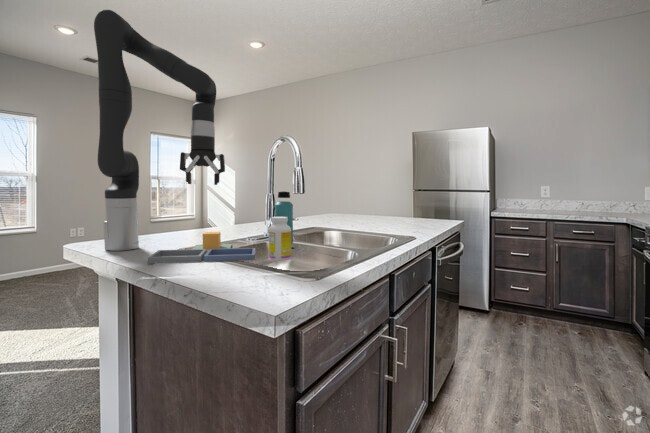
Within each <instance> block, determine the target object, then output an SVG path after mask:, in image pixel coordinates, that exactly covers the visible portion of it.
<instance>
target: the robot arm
mask: <svg viewBox="0 0 650 433" xmlns="http://www.w3.org/2000/svg"><path fill="white" fill-rule="evenodd" d="M93 30H94V31H93V32H94V37H95V46H96V51H97V52H96V53H97V66H98V67H97V68H98V69H97V73H98V106H99V136H98V137H99V139H98V149H97V166H98V169H99V171H100V173H101V174H103V175H104V176H105V177H108V178H111V183H110V185H109V186H108V187H107V188H105V190H104V202H105V204H104V205H105V220H104V221H103V237H104V238H103V239H104V250H105V251H112V252H113V251H116V252H117V251H118V252H119V251H121V252H122V251H130V250H134V249H135V250H136V249H138V248H139V244H140V243H139V224H138V223H139V222H138V221H139V220H138V202H137V201H138V200H137V198H138V197H137V193H138V191H139V188H140V187H139V185H140V167H139V161H138V158H137V156H136V155H135V154H134V153H133V152H131V151H128V150H125V149H124V132H125V129H126V126H127V124H128V122H129V120H130V117H131V115H132V111H133V97H132V95H133V92H132V87H131V83H130V79H129V76H128V73H127V69H126V67H125V63H124V58H123V51H124V52H126V53H128V54H131V55H133V56H135V57H137V58H139V59H141V60H142V61H145V62H146V63H148V65H150V66H152V67H153V68H155V70H157V71H159V72H160V73H162V74H164V75H165V76H167V77H169V78H170V79H172V80H173V81H175V82H178V83H179V84H182V85H184V86H185V87H187V88H188V89H190V90H191V91H192V92H194V93H195V100H194V103H193V104H192V106H191V125H190V152H188V153H187V152H183V151H181V152H180V159H179V170H180V171H182V172H185V181H186V182H185V183H187V184H188V185H192V171H193V170H194V168H195V167H210V168H211V169H212V170H213V172H214V175H213V176H214V177H213V178H214V182H213V184H214V185H215V186H217V185H218V184H219V183H220V174H222V173H224V172H226V165H225V164H226V162H225V155H224V154H223V153H221V154H216V152H215V150H216V149H215V148H216V147H215V142H216V141H215V134H216V132H215V131H216V130H215V105H216V100H217V86H216V83H215V81H214V79H212V78H211V76H210V75H209V74H208V73H206V72H204V71H203V70H202V69H200V68H198V67H196V66H193V65H191V64H189V63H188V62H186V61H185V60H183V59H182V58H180V57H179V56H177V55H175V54H174V53H172V52H170V51H169V50H167V49H165V48H162V47H160V46H158V45H155V44H154V43H152V42H151V41H149V40H148V39H146V38H144V37H143V36H142V35H141V34H140V33H139V32H138V31H136V30H135V28H133V27H132V26H131V24H130V23H129V22H128V21H127V20H126V19H124V18H123V16H121V15H120V14H119V13H117V12H116V11H113V10H111V9H102V10H100V11H98V12H97V13H96V15H95V17H94V21H93ZM189 157H190V159H191V162H190V163H189V165H188V166H187V167H186V163H187V162H186V161H187V160H188V159H189ZM216 158H217V160H218V162H219V169H218V167H217V166H216V164H215V163H214V161H215V160H216Z"/></svg>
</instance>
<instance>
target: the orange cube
mask: <svg viewBox="0 0 650 433" xmlns="http://www.w3.org/2000/svg"><path fill="white" fill-rule="evenodd" d="M202 245H203V249H219V248H220V246H221V231H205V232H203V233H202Z"/></svg>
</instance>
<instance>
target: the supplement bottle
mask: <svg viewBox="0 0 650 433" xmlns="http://www.w3.org/2000/svg"><path fill="white" fill-rule="evenodd" d="M287 221H288V217H274V216H272V217H271V222H272V224H271V225H270V226H269V227H268V259H269V261H274V262H275V261H277V262H283V261H289V260H292V246H291V228H290V226H288V225H287Z"/></svg>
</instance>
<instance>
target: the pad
mask: <svg viewBox="0 0 650 433" xmlns="http://www.w3.org/2000/svg"><path fill="white" fill-rule="evenodd" d="M232 246H233V244H232V243H222V244H221V246H220V248H219V249H232ZM192 249H203V244H196V245H195V246H193V248H192ZM208 250H209V249H207V252H208Z"/></svg>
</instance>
